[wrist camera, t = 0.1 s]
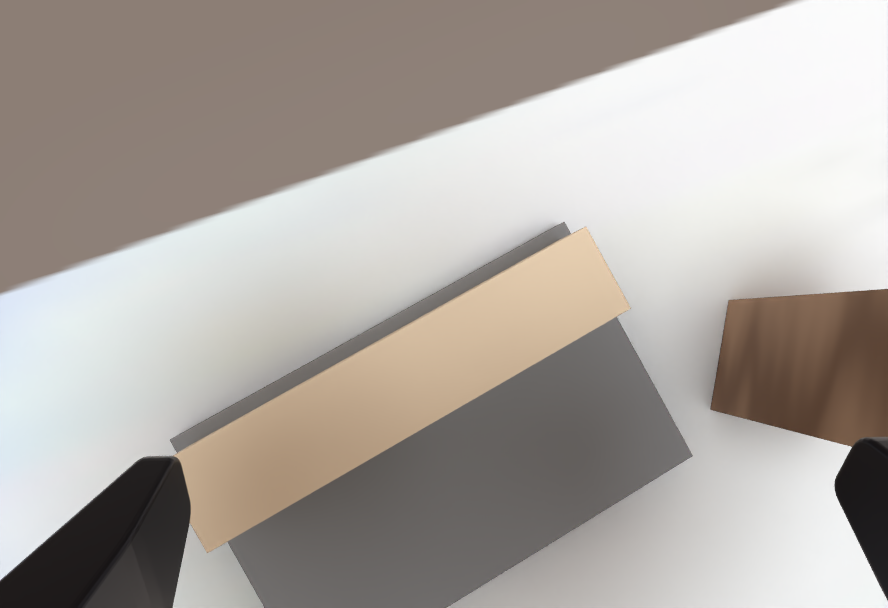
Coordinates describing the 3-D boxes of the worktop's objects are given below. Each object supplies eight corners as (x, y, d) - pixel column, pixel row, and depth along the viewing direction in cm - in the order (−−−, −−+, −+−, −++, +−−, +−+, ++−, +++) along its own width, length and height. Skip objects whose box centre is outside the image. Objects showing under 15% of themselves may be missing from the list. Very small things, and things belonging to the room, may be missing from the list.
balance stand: (679, 450, 24) (739, 476, 20) (314, 673, 22) (299, 751, 18) (556, 225, 23) (591, 205, 19) (179, 434, 22) (133, 459, 18)
